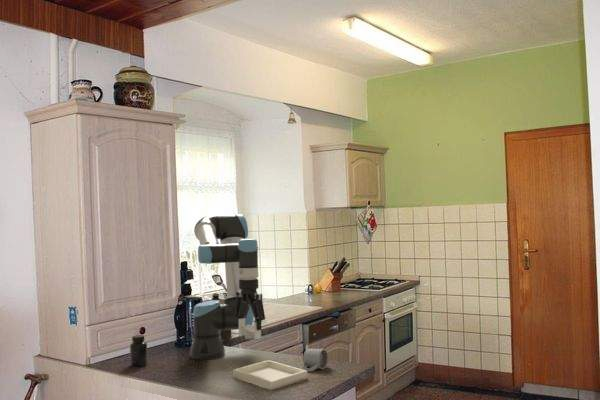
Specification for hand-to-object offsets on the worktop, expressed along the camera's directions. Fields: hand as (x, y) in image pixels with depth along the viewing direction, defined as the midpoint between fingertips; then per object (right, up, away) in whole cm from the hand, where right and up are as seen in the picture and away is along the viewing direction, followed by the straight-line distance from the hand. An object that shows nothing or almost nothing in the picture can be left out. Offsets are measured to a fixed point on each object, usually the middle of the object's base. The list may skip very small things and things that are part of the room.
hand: (249, 336), depth 217 cm
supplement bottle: (-47, -16, +15) cm, 52 cm away
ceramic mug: (+25, -14, +6) cm, 30 cm away
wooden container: (-22, -16, +62) cm, 68 cm away
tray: (+8, -14, -6) cm, 17 cm away
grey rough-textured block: (+1, 0, +1) cm, 1 cm away
